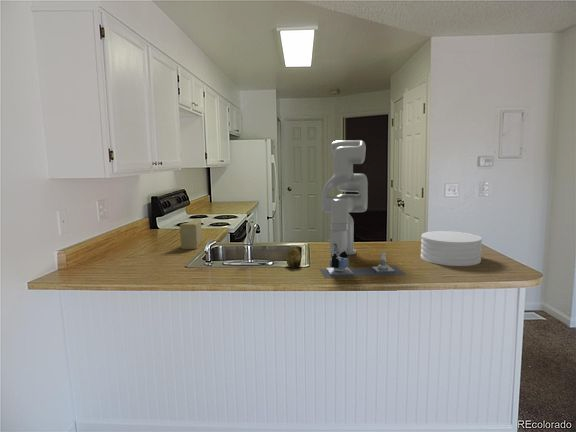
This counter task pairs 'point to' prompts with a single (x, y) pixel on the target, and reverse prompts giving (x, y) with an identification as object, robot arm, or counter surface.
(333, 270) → the hub
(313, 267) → the counter surface
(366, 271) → the bench mat
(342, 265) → the square hole block
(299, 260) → the potato
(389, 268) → the stand
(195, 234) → the cheese
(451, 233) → the plate stack
